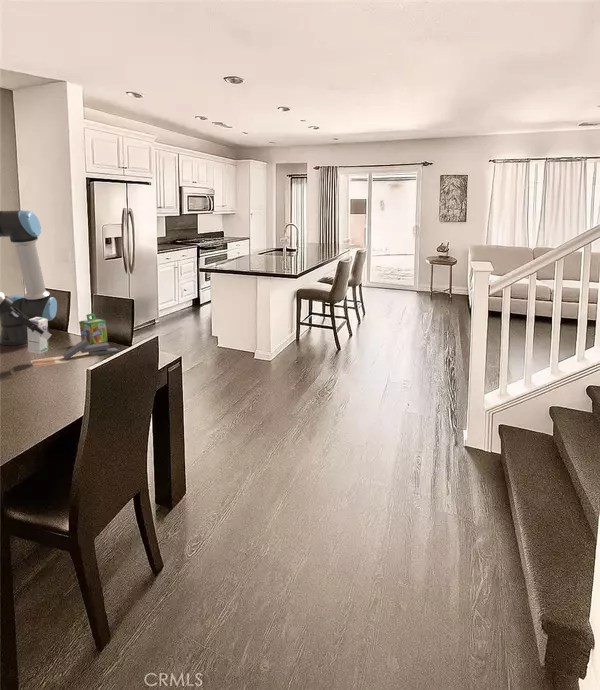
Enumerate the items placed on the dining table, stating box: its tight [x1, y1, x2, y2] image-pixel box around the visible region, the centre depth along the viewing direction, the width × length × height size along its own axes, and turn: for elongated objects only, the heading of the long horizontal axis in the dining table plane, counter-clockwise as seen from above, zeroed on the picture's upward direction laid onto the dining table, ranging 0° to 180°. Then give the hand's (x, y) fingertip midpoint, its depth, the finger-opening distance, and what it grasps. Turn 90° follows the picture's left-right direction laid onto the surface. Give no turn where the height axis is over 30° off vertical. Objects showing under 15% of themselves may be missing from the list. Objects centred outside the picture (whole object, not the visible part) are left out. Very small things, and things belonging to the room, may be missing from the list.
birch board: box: [30, 352, 99, 369], centre depth 233 cm, size 12×26×1 cm, turn 123°
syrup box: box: [27, 317, 49, 355], centre depth 224 cm, size 6×6×14 cm
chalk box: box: [78, 313, 108, 345], centre depth 260 cm, size 9×9×15 cm
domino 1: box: [61, 338, 91, 360], centre depth 234 cm, size 5×2×12 cm
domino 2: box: [79, 341, 111, 353], centre depth 238 cm, size 5×2×12 cm
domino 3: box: [89, 347, 119, 356], centre depth 241 cm, size 5×2×12 cm
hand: (47, 335), depth 226 cm, fingers closed on syrup box, 8 cm apart
